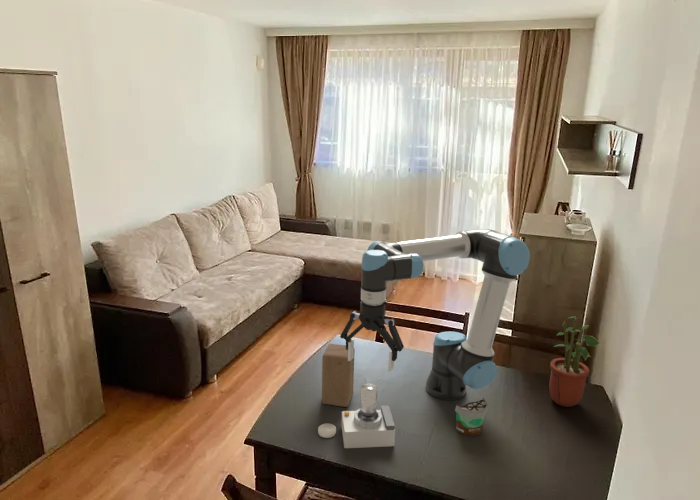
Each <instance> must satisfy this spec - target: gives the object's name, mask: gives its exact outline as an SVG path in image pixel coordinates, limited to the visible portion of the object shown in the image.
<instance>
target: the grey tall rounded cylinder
mask: <svg viewBox="0 0 700 500" xmlns="http://www.w3.org/2000/svg"><path fill="white" fill-rule="evenodd" d="M377 404H378V386H377V385H375V384H374V383H364V384H362V385H361V387H360V405H359V406H360V408H359V409H360V419H361V420H363V421H366V422H370V421H374V420H376V410H378V409H377Z"/></svg>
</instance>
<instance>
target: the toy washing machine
mask: <svg viewBox="0 0 700 500" xmlns="http://www.w3.org/2000/svg"><path fill="white" fill-rule="evenodd" d="M340 427H341V433H342V443H343V448H344V449H358V448H359V449H361V448H363V449H364V448H381V447H382V448H383V447H385V448H386V447H395V439H396V429H395V428H396V424H395V422H394V418H393V415H392V412H391V408H390V405H380V409H377V410H376V420H374V421H370V422H366V421H363V420H361V419H360V408H357V409H355V410H343V411H341V426H340Z"/></svg>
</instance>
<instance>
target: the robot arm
mask: <svg viewBox="0 0 700 500" xmlns="http://www.w3.org/2000/svg"><path fill="white" fill-rule="evenodd" d="M455 257H458V258H460V259H474V260H476V261H480V262H482V267H481V272H482V274H483V275H484V277H483V281H482V285H481V288H480V292H479V295H478V299H477V303H476V307H475V310H474V313H473V317H472V321H471V325H470V329H469V330H468V336H466V335H465V334H464V333H462V332H458V331H450V330H449V331H441V332H439V333H436V335H435V336H434V340H433V343H432V344H433V351H432V363H431V370H430V372H429V374H428V376H427V378H426V381H425V390H426V391H427V393H428V394H430V395H431V396H433V397H435V398H437V399H439V400H445V401H455V400H459V399H462V398H463V397H464V396H465V395H466V392H467V390H466V389H467V386H468V387H469V388H470V389H472V390H482V389H485V388H486V387H488V386H489V385H491V383H493V381H494V380H495V378H496V376H497V374H498V367H497V365H496V363H495V362H494V361H493V360H494V357H495V351H494V348H493V344H494V340H495V337H496V334H497V329H498V326H499V323H500V319H501V316H502V312H503V308H504V305H505V301H506V298H507V296H508V295H507V294H508V291H509V289H510V288H509V287H510V284H511V283H512V282H514V281H516V280H517V277H518V276H520V275H521V274H523V273H524V271H525V270H527V268H528V266H529V263H530V261H531V259H530V257H531V253H530V249H529V248H528V246H527V244H526V243H525V242H524V241H522V240H521V239H519V238H517V237H515V236H512V235H508V234H505V233H502V232H499V231H496V230H494V229H489V228H488V229H486V228H481V229H469V230H461V231H457V232H456V233H455V234H453V235H444V236H438V237H430V238H423V239H413V240H405V241H399V242H398V241H396V242H389V243H386V242H384V241H382V240H381V241H380V240H376V241H373V242H372V243H371V244H369V246H368V248H367V250H366V251H364V252H363V254H362V259H361V265H360V267H361V279H360V280H361V284H360V285H361V286H360V300H361V301H360V305H359V306H360V310H359V313H358V312H357V310H353V312H351V313H350V316H349V320H348V322H347V324H346V325H345V327H344V329H343V330H342V332H341V334H340V335H339V336H340V339H344V340H345V345H346V350H348V361H351V360H352V359H353V358H354V359H355V352H354V349H355V339H354V336H356V334H358V333H359V332H360V331H361V330H362V329H363V328H364V329H365V330H367V331H372V332H377V333H378V334H379V335H380V336H381V337H382V339H383V340H384V342H385V343H386V344H387V346H388V348H389V349H390V351H389V352H388V353H389V354H388V369H387V371H388V372H392V370H393V369H394V366H395V361H397V359H398V352H402V351H403V349H404V347H405V346H404V343H403V341H402V338H401V336H400V334H399V331H398V329H397V327H396V319H395V318H393V317H391V319H389V318H386V317H385V315H386V298H387V297H386V296H387V293H386V292H387V282H394V281H395V282H396V281H402V280H408V279H409V280H411V279H414V278H418V277H421V275H422V274H423V272H424V262H428V261H436V260H440V259H441V260H442V259H448V258H455ZM357 319H359V321H360V325H358V326H357V327H356V328H355V329H354V330H353V331H351V333H350V334H348V333H349V332H350V330H351V328H352V327H353V325H354V323H355V322H356V320H357ZM385 324H386V326H385ZM387 327H388V330H389V331H388V330H387Z"/></svg>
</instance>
